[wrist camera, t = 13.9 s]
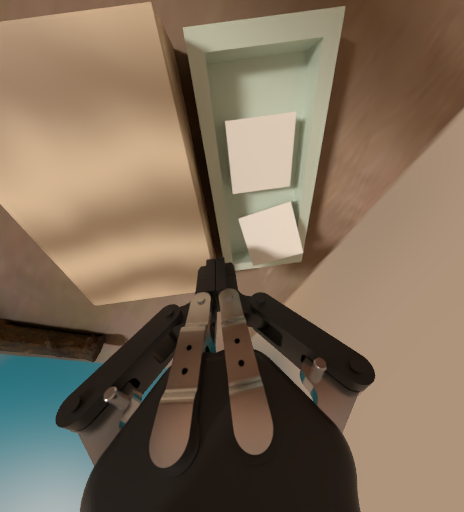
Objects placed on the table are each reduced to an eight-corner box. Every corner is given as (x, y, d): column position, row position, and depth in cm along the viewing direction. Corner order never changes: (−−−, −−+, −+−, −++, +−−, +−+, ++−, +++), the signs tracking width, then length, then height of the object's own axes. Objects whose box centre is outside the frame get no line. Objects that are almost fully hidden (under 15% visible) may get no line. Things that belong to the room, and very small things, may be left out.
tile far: (290, 201, 15) (287, 201, 17) (238, 218, 16) (240, 217, 18) (303, 252, 16) (298, 247, 18) (253, 266, 17) (253, 260, 19)
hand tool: (109, 331, 30) (93, 360, 26) (106, 342, 32) (91, 371, 28) (-47, 302, 23) (-98, 335, 19) (-39, 319, 25) (-84, 352, 21)
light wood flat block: (-21, 74, 11) (-151, 41, 7) (173, 48, 11) (150, 1, 7) (116, 273, 22) (94, 305, 18) (216, 260, 22) (217, 289, 18)
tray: (188, 46, 11) (183, 27, 9) (322, 28, 11) (345, 5, 9) (224, 259, 22) (225, 272, 20) (293, 249, 22) (301, 261, 20)
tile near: (296, 111, 12) (286, 113, 13) (225, 121, 12) (223, 122, 13) (289, 186, 15) (282, 181, 16) (232, 194, 15) (231, 188, 16)
